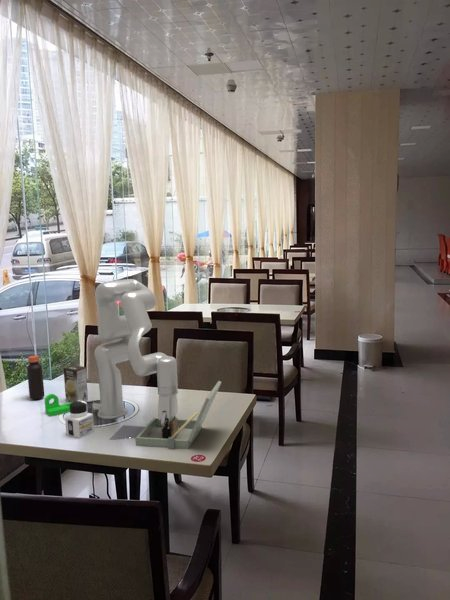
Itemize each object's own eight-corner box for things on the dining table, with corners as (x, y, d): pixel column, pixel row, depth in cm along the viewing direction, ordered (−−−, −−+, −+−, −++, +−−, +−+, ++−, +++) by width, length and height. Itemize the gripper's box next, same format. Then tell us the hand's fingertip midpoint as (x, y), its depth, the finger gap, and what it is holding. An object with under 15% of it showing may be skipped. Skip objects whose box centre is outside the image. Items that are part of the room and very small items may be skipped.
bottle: (41, 399, 251) (38, 358, 248) (27, 399, 251) (23, 358, 248) (46, 394, 257) (43, 354, 254) (32, 394, 257) (29, 355, 254)
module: (161, 439, 200) (160, 420, 199) (166, 434, 205) (165, 416, 204) (174, 440, 199) (173, 421, 198) (178, 435, 204) (177, 416, 203)
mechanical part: (50, 416, 228) (48, 398, 227) (45, 412, 233) (44, 395, 232) (76, 409, 236) (75, 392, 234) (71, 406, 240) (70, 389, 239)
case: (134, 448, 193) (131, 395, 190) (154, 426, 214) (151, 378, 211) (210, 453, 187) (208, 399, 184) (223, 429, 208) (221, 380, 205)
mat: (108, 440, 201) (108, 439, 201) (123, 426, 214) (123, 425, 214) (136, 442, 198) (136, 441, 198) (148, 427, 212) (148, 426, 212)
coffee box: (65, 400, 247) (62, 367, 245) (75, 396, 253) (73, 364, 250) (78, 404, 242) (76, 370, 240) (89, 399, 248) (86, 366, 245)
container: (79, 439, 203) (77, 407, 201) (66, 435, 207) (63, 403, 205) (94, 432, 209) (92, 400, 207) (80, 428, 213) (78, 397, 211)
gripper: (165, 381, 208) (167, 425, 211) (150, 396, 191) (153, 443, 194) (183, 382, 207) (185, 425, 209) (170, 397, 190) (172, 444, 192)
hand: (170, 433), depth 202 cm, fingers open, 6 cm apart
